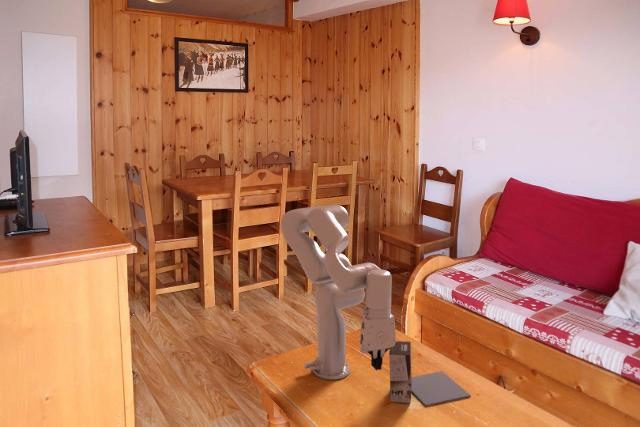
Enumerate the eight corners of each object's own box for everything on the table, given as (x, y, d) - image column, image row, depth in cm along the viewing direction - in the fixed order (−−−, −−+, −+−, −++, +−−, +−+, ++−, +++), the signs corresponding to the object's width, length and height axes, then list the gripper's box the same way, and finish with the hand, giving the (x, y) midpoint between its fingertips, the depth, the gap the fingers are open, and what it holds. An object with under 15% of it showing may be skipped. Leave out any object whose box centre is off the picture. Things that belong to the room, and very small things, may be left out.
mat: (425, 406, 160) (425, 404, 160) (400, 380, 175) (400, 379, 175) (470, 396, 165) (470, 395, 165) (442, 372, 180) (442, 371, 180)
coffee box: (411, 403, 161) (410, 355, 157) (390, 402, 162) (388, 354, 159) (412, 387, 170) (411, 341, 166) (392, 386, 171) (390, 340, 167)
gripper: (360, 319, 151) (359, 378, 155) (406, 312, 156) (404, 369, 160) (349, 309, 158) (349, 366, 162) (394, 303, 163) (392, 358, 167)
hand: (376, 367), depth 161 cm, fingers closed
